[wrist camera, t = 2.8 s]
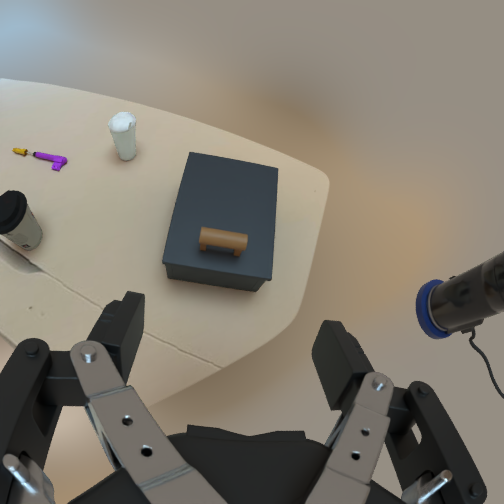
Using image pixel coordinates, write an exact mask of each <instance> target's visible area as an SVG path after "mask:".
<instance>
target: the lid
mask: <svg viewBox="0 0 504 504" xmlns="http://www.w3.org/2000/svg"><path fill="white" fill-rule="evenodd" d="M277 184H278V168H274V167H270V166H265V165H260V164H255V163H250V162H245V161H240V160H235V159H229V158H224V157H218V156H212V155H206V154H200V153H194V152H189V156H188V159H187V163H186V166H185V170H184V173H183V177H182V181H181V184H180V188H179V192H178V196H177V199H176V203H175V207H174V211H173V215H172V219H171V224H170V228H169V232H168V237H167V241H166V245H165V250H164V255H163V259H162V263H163V264H166V265H172V266H178V267H183V268H189V269H196V270H202V271H208V272H214V273H220V274H227V275H233V276H239V277H246V278H253V279H259V280H266V281H270V280H271V279H272V267H273V252H274V236H275V219H276V202H277Z"/></svg>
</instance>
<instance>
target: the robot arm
mask: <svg viewBox="0 0 504 504" xmlns="http://www.w3.org/2000/svg"><path fill="white" fill-rule="evenodd" d="M449 279H450V280H448V281H446V282H443V283H441V284H438V285H436V286H434V287H432V288H431V289H430V291H429V293H428V295H427V300H426V309H427V314H428V317H429V320H430V322H431V323H432V325H433V326H434V327H435V328H436V329H437V330H439V331H444V332H445V334H450V333H454V332H457V331H461V332H462V334H464V333H467V332H471V331H472V336H471V337H470V338H469V342H470V344H471V346H472V347H473V348H474V349H475V350H476V351H477V352H478V353H479V354H480V355H481V356H482V357H483V359H484V361H485V362H486V365H487V368H488V370H489V374H490V377H491V380H492V382H493V384H494V386H495V388H496V390H497V391H498V393H499V394H500V395H501V397H502V398H504V394H503V393H502V392H501V390H500V389H499V387H498V385H497V383H496V381H495V379H494V377H493V374H492V371H491V368H490V364H489V362H488V359H487V358H486V356H485V354H484V353H483V352H482V351H481V350H480V349H479V348H478V347H477V346H476V345H475V344H474V343H473V341H472V340H473V339H474V338H475V329H474V327H475V326H478V325H480V324H482V323H483V320H484V318H487V317H490V316H493V315H496V314H499V313H501V312H504V251H503V252H502V253H500V254H499V255H497V256H495V257H493V258H491V259H489V260H487V261H486V262H484V263H482V264H480V265H478V266H476V267H474V268H472V269H470V270H468V271H466V272H464V273H462V274H460V275H458V276H453V277H451V278H449ZM144 306H145V295H144V294H141V293H136V292H131V291H127V293H126V294H125V296H124V298H123V300H122V301H118V300H114V301H112V302H111V303H109V304H108V305H106V307H105V308H104V310H103V312H102V314H101V315H100V317H99V319H98V320H97V322H96V324H95V325H94V327H93V329H92V331H91V332H90V334H89V336H88V338H87V340H86V341H81V342H79V343H77V344H75V345H74V346H73V347H72V349H71V351H50V349H49V346H48V344H47V343H46V342H45V341H43V340H41V339H37V338H30V339H26V340H24V341H22V342H20V343H19V344H18V346H17V347H16V349H15V350H14V352H13V353H12V355H11V357H10V358H9V360H8V361H7V363H6V365H5V366H4V368H3V370H2V372H1V373H0V504H55V501H54V488H53V485H52V483H51V481H50V479H49V478H48V477H47V476H46V475H45V473H44V472H43V469H44V465H45V461H46V458H47V454H48V450H49V447H50V444H51V441H52V437H53V434H54V431H55V428H56V425H57V422H58V419H59V416H60V413H61V410H62V407H63V406H84V409H85V411H86V413H87V415H88V417H89V420H90V422H91V424H92V426H93V428H94V430H95V432H96V434H97V436H98V438H99V440H100V443H101V444H102V447H103V449H104V451H105V453H106V456H107V457H108V459H109V461H110V463H111V465H112V466H113V468H114V470H115V472H113V473H112V474H110V475H109V476H107V477H106V478H105V479H103V480H102V481H100V482H99V483H97V484H96V485H94V486H93V487H91V488H90V489H88V490H87V491H85V492H84V493H82V494H81V495H79V496H77V497H76V498H75V499H73V500H71V501H70V502H68V504H483V503H484V502H485V500H486V498H487V489H486V486H485V484H484V482H483V479H482V477H481V475H480V473H479V471H478V469H477V467H476V465H475V463H474V461H473V459H472V457H471V456H470V454H469V452H468V450H467V448H466V446H465V445H464V442H463V440H462V439H461V437H460V435H459V433H458V431H457V430H456V428H455V426H454V424H453V422H452V421H451V419H450V417H449V415H448V414H447V412H446V410H445V409H444V407H443V406H442V404H441V402H440V400H439V398H438V397H437V395H436V393H435V392H434V390H433V389H432V388H431V387H430V386H429V385H428V384H426V383H424V382H421V381H414V382H412V383H411V384H410V386H409V387H408V389H404V388H399V387H394V385H393V383H392V381H391V380H390V379H389V378H388V377H387V376H386V375H384V374H381V373H379V372H375V371H374V369H373V367H372V365H371V364H370V362H369V360H368V358H367V356H366V355H365V354H364V351H363V350H362V348H361V346H360V344H359V343H358V341H357V339H356V338H355V337H354V336H352V335H351V334H350V333H349V332H346V330H345V328H344V326H343V325H342V323H341V322H340V321H330V320H324V321H323V323H322V325H321V327H320V330H319V332H318V335H317V337H316V340H315V342H314V345H313V348H312V359H313V362H314V365H315V367H316V370H317V373H318V376H319V379H320V381H321V384H322V387H323V389H324V392H325V395H326V398H327V401H328V404H329V406H330V409H331V410H341V411H342V414H341V415H340V417H339V419H338V420H337V422H336V424H335V427H334V428H333V430H332V432H331V434H330V436H329V437H328V439H327V441H326V443H325V445H323V444H321V443H319V442H316V441H313V440H310V439H306V437H305V432H304V431H275V432H270V433H265V434H259V435H255V436H245V435H241V434H237V433H233V432H230V431H226V430H223V429H219V428H213V427H203V426H194V425H187V432H186V433H178V434H173V435H169V436H166V435H165V434H164V433H163V431H162V430H161V429H160V427H159V426H158V424H157V423H156V421H155V420H154V419H153V417H152V415H151V414H150V412H149V411H148V410H147V408H146V406H145V405H144V403H143V402H142V400H141V399H140V397H139V396H138V394H137V392H136V391H135V389H134V388H133V387H132V386H131V385H129V386H126V384H127V381H128V377H129V374H130V371H131V368H132V365H133V362H134V359H135V356H136V353H137V350H138V347H139V344H140V341H141V338H142V335H143V329H144ZM415 423H417V426H418V428H419V430H420V432H421V435H422V439H421V442H420V444H418V442H417V440H416V437H415V435H414V433H413V431H412V429H411V428H412V427H413V426H414V425H415ZM384 442H385V444H386V447H387V449H388V452H389V455H390V457H391V460H392V463H393V466H394V468H395V471H396V474H397V477H398V480H399V483H400V485H401V488H402V491H403V493H402V497H401V499H400V498H398V497H397V496H395V495H394V494H392V493H390V492H389V491H388V490H386V489H384V488H383V487H382V486H380V485H379V484H378V483H376V482H375V481H373V480H372V479H371V478H372V475H373V472H374V469H375V467H376V464H377V461H378V458H379V455H380V452H381V449H382V446H383V443H384Z"/></svg>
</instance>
